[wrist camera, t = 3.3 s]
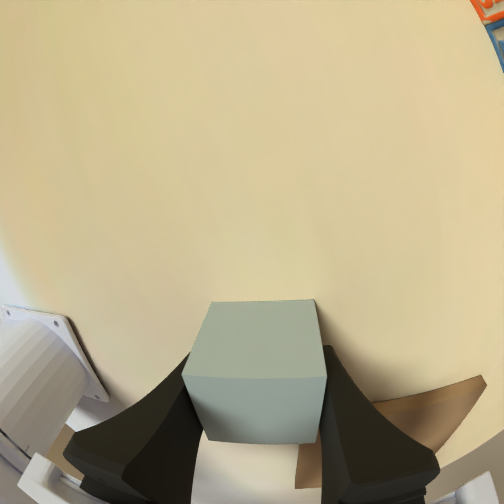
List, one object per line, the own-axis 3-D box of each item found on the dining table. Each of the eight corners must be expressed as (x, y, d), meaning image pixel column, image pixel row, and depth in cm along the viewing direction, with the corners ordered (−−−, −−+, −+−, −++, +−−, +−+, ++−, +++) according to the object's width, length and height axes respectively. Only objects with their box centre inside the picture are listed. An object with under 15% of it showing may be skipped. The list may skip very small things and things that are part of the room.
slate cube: (225, 371, 14) (208, 440, 9) (211, 301, 12) (181, 374, 8) (310, 370, 13) (315, 442, 9) (313, 299, 11) (326, 376, 7)
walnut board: (294, 479, 19) (294, 488, 18) (302, 410, 14) (303, 425, 13) (421, 457, 18) (423, 466, 17) (480, 374, 13) (487, 385, 12)
